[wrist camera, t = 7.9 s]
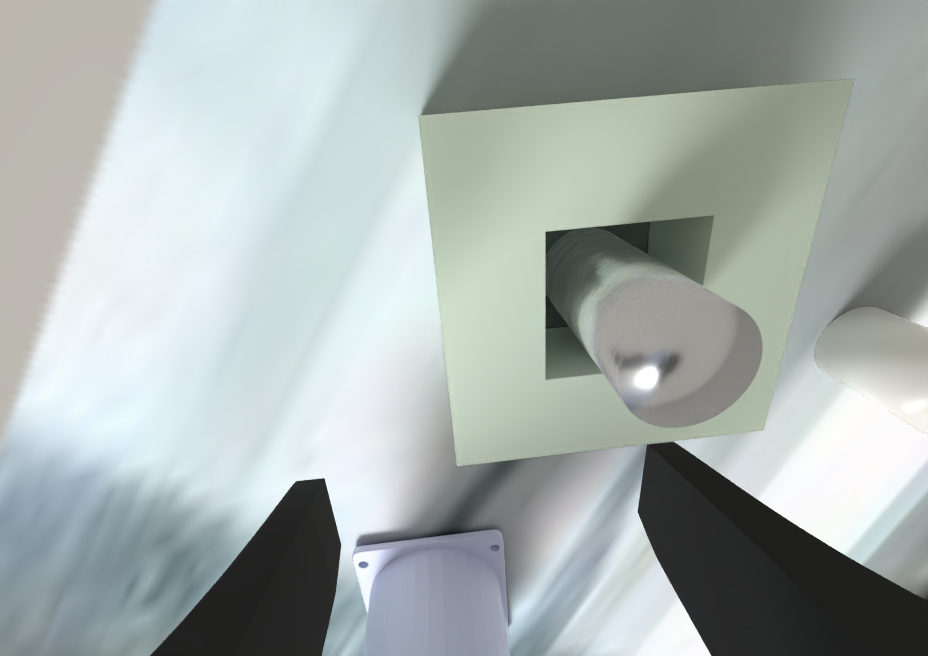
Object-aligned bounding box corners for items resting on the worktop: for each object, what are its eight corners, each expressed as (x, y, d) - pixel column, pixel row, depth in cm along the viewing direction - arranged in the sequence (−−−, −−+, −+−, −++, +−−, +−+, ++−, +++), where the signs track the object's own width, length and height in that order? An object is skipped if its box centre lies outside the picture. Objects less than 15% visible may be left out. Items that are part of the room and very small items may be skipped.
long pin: (629, 301, 19) (756, 411, 12) (546, 319, 19) (622, 440, 12) (625, 218, 17) (769, 285, 10) (535, 238, 17) (615, 319, 10)
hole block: (704, 377, 21) (763, 430, 17) (451, 405, 20) (456, 466, 17) (755, 88, 16) (854, 78, 12) (419, 117, 15) (418, 115, 12)
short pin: (876, 370, 22) (982, 428, 18) (805, 378, 21) (895, 438, 17) (901, 302, 20) (1023, 347, 16) (825, 310, 20) (929, 358, 16)
